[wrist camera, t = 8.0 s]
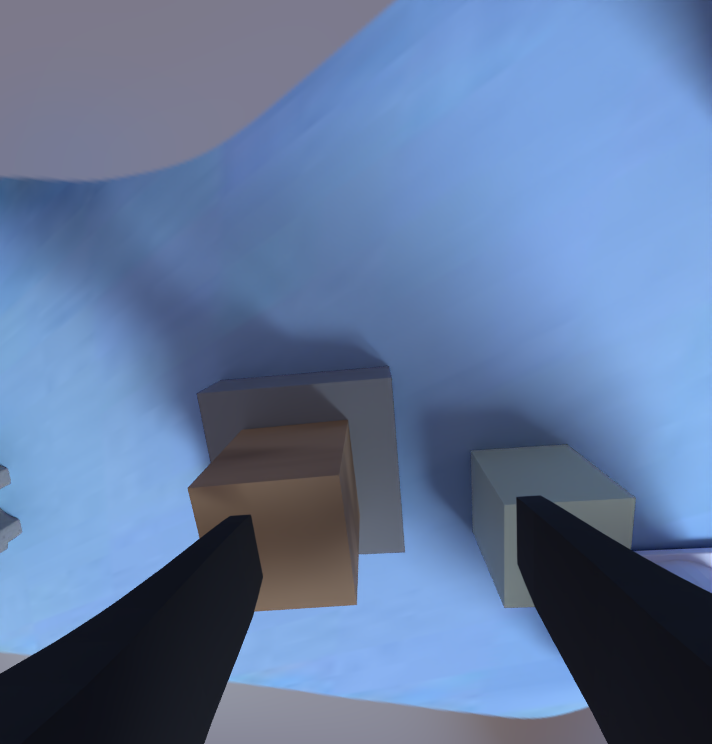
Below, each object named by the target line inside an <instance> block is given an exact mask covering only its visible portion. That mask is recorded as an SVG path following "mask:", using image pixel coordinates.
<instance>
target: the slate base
mask: <svg viewBox="0 0 712 744" xmlns="http://www.w3.org/2000/svg"><path fill="white" fill-rule="evenodd" d="M197 397H198V402H199V407H200V412H201V417H202V422H203V427H204V432H205V437H206V442H207V447H208V452H209V457H210V461H211V462H212V461H213V460H214V459H215V458H216V457H217V456H218V455H219V454H220V453H221V452H222V451H223V450H224V448H225V447H226V446H227V445H228V444H229V443H230V442H231V441H232V440H233V439H234V438H235V437H236V436H237V434H238V433H239V432H240V431H241V430H245V429H255V428H265V427H276V426H286V425H297V424H307V423H318V422H328V421H339V420H348V424H349V432H350V440H351V448H352V456H353V464H354V472H355V480H356V488H357V496H358V504H359V512H360V529H359V554H377V553H400V552H405V546H404V533H403V520H402V507H401V494H400V481H399V468H398V455H397V443H396V430H395V417H394V404H393V391H392V378H391V373H390V368H389V366H384V367H373V368H361V369H349V370H337V371H325V372H313V373H302V374H290V375H278V376H266V377H254V378H243V379H231V380H220V381H218V382H216V383H215V384H213V385H211V386H209V387H208V388H206V389H204V390H202V391H200V392H199V393H197Z"/></svg>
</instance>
